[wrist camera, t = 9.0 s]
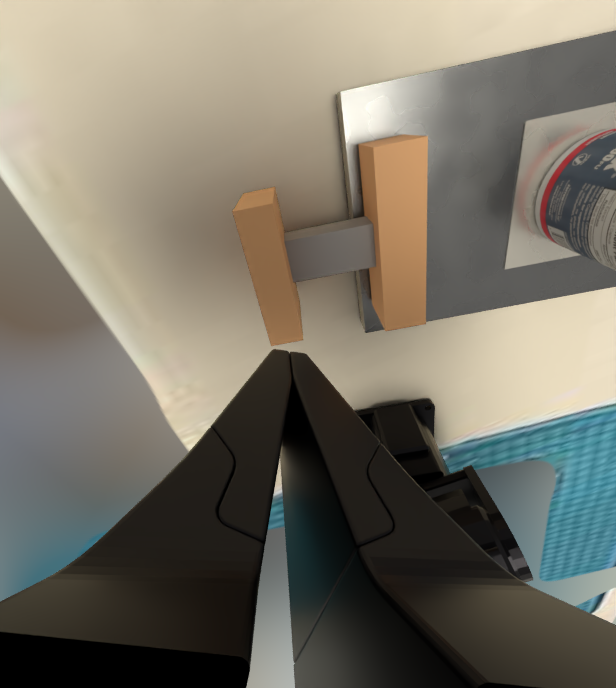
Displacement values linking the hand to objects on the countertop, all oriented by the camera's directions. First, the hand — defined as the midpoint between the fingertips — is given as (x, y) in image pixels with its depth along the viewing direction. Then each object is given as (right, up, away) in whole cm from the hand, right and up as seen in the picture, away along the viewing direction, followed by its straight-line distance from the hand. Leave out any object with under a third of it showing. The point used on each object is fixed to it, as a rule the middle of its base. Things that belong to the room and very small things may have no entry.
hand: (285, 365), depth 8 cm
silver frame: (+11, +9, +10) cm, 17 cm away
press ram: (+2, +6, +9) cm, 11 cm away
